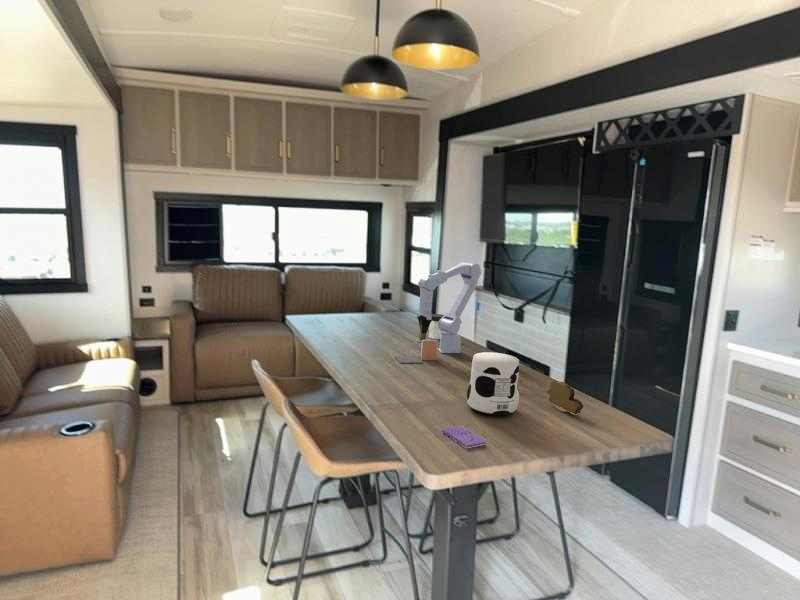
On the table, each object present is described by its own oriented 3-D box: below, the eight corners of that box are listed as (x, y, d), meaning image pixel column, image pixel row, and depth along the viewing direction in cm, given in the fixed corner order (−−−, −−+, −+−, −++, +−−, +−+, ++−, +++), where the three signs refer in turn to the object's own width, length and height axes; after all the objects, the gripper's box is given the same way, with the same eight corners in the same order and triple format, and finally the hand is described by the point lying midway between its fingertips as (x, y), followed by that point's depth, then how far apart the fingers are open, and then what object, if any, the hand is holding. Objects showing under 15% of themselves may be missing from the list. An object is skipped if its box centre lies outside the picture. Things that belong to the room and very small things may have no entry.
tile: (435, 359, 240) (436, 339, 238) (436, 360, 238) (437, 340, 237) (420, 359, 238) (421, 339, 237) (421, 360, 237) (422, 340, 235)
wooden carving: (586, 418, 177) (589, 389, 175) (575, 420, 175) (579, 391, 173) (550, 402, 191) (553, 375, 190) (541, 403, 189) (543, 376, 188)
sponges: (465, 451, 148) (466, 444, 148) (441, 433, 159) (441, 427, 158) (486, 447, 151) (486, 441, 151) (460, 430, 162) (461, 424, 162)
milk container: (482, 397, 192) (486, 348, 189) (526, 410, 181) (531, 359, 178) (455, 409, 179) (459, 357, 176) (501, 424, 168) (506, 368, 165)
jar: (426, 336, 285) (427, 314, 283) (439, 335, 289) (441, 313, 287) (434, 340, 277) (436, 317, 275) (448, 339, 281) (449, 316, 279)
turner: (428, 340, 248) (430, 322, 247) (432, 343, 242) (434, 324, 241) (414, 340, 246) (415, 321, 245) (417, 343, 241) (419, 324, 239)
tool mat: (416, 357, 241) (416, 356, 241) (422, 363, 231) (422, 362, 231) (394, 357, 239) (394, 356, 239) (400, 363, 229) (400, 362, 229)
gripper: (413, 300, 249) (410, 328, 251) (421, 305, 235) (419, 335, 237) (427, 300, 251) (425, 329, 253) (437, 306, 237) (434, 336, 239)
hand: (423, 332), depth 245 cm, fingers closed on turner, 2 cm apart
